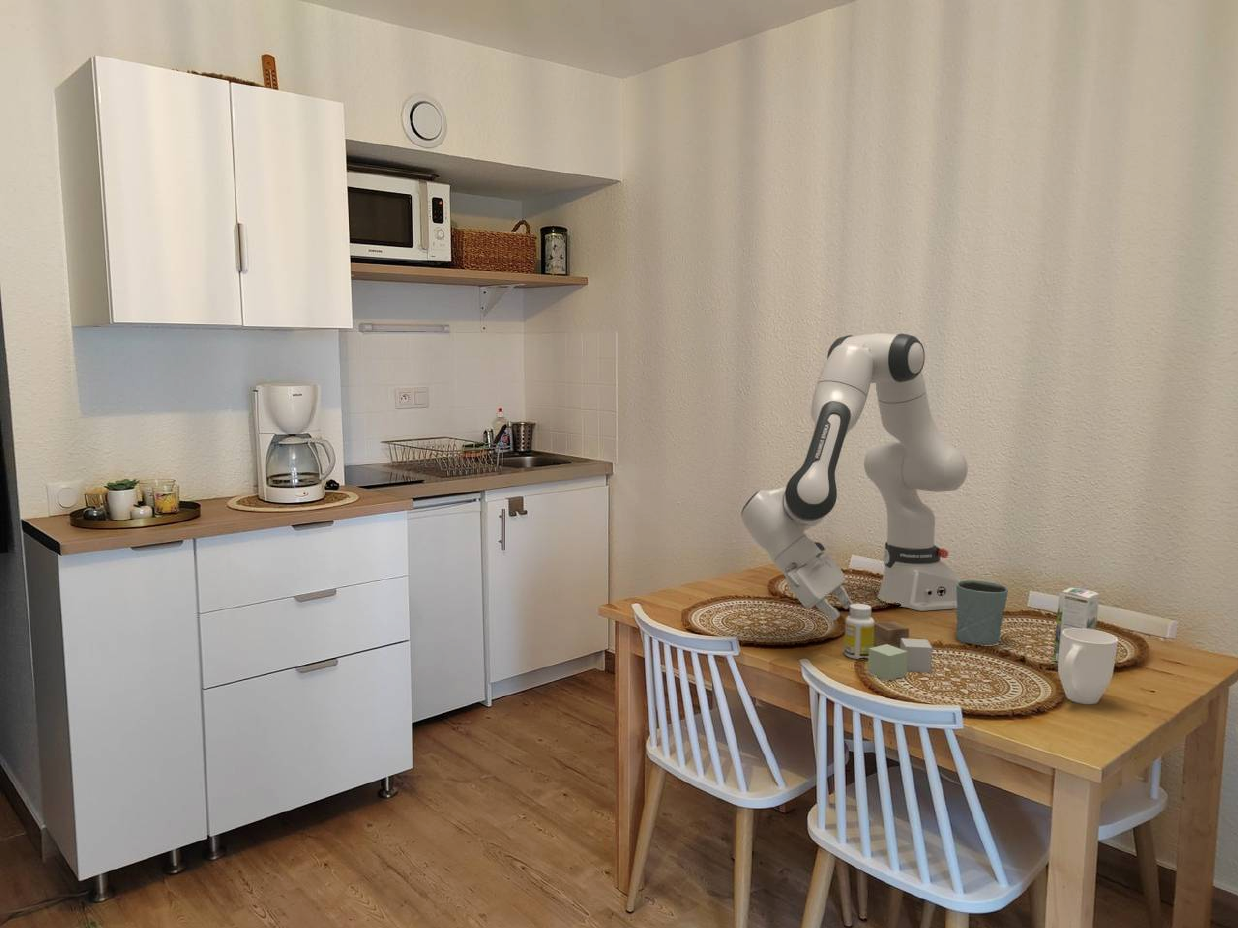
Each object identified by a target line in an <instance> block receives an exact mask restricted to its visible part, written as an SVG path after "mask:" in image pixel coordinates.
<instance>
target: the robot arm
mask: <svg viewBox="0 0 1238 928" xmlns="http://www.w3.org/2000/svg"><path fill="white" fill-rule="evenodd" d="M925 359H926V355H925V349H924V346H923V343H922V342H921V341H920V340H919V339H918V337H916V336H915V335H911V334H907V333H898V334H896V333H885V332H882V333H881V332H874V333H869V334H867V333H866V334H860V335H851V334H850V335H848V334H847V335H845V336H840V337H839V338H837V339H835V340H834V341H833V342H832V344H831V345H830V347H829V348H828V351H827V356H826V361H825V363H824V365H823V367H822V370H821V372H820V374H819V377H818V380H817V383H816V385H815V388H814V391H813V395H812V402H811V406H810V407H811V409H810V410H811V411H810V416H811V418H812V421H813V422H814V428H813V429H814V430H813V434H812V437H811V440H810V444H809V446H808V450H807V454H806V457H805V459H804V461H803V464H802V465H801V466H800V467H799V469H798V470H797V471H796V472H795V473H794V474H793V475H792V476H791V477H790V478H789V480H788V482H787V484H786V485H785V486H783V487H779V488H775V489H774V488H773V489H769V490H768V489H765V490H764V489H760V490H758V491H757V492H755V493H754V494H753V495H751V497H750V498H749V499H748V500H747V501H746V503H745V505H744V506H743V507H742V510H741V514H740V516H741V517H740V518H741V522H742V524H743V525H744V527H745V529H746V530H747V532H748V533H749V534H750V535H751V537H752V538H753V540H754V541H755V542H756V544H758V545H759V547H761V548H762V549H764V550H765V551H766V552H767V554H768V555H769V557H770V559H771V561H772V562H773V564H775V566H776V567H777V568H778V570H779V571H780V572H781V573H782V574H783V576H785V578H786V582H787V585H788V587H789V588H790V591H791V592H792V593H793V594H794V595H795V597H796V598H797V599H798V601H799V602H800V603H801V605H802V606H804V607H805V609H808V610H811V609H812V608H814V606H815V607H816V608H817V609H818V610H819V611H820V612H822V613H823V614H825V615H826V616H827V617H828V618H830V620H831V621H832V622H834V621H836V620H838V618H840V616H841V613H840V612H839V610H838V609H837V608H836V607H834V606H832V605H831V604H830V603H829V601H828V599H827V598H826V597H827V596H829V595H830V594H831V593H833V595H834V596H836V597H837V599H838V600H839V603H840V605H841V606H842V608H844V609H845V610H849V609H850V605H852V604H854V602H853V601H852V599H850V597H849V595H848V593H847V590H846V589H845V587H844V586H843V585H842V584H843V583H845V582H846V580H847V578H846V576H845V573H844V572H843V571H842V569H841V568H840V567H839V566H838V564H837V563H836V561H835V560H834V559H833V558H832V557H831V555H830V554H829V553H828V552H826V551H827V548H826V547H825V545H824V544H823V543H822V542H819V541H814V540H812V539H811V538H809V536H807V534H806V533H805V532H804V531H806V530H808V529H811V528H812V527H815V526H817V525H819V524H820V523H821V522H822V521H823V520H824V519H825V518H826V516H827V515H828V514H829V513H830V512H831V511H832V510H833V509H834V507H835V505H836V503H837V498H838V497H837V496H838V490H837V485H836V484H837V483H836V469H837V464H838V462H839V457H840V455H841V451H842V448H843V444H844V441H845V439H846V437H847V435H848V433H849V432H850V431H851V430H852V429H853V428H854V427H856V424H857V422H858V421H859V420H860V418H861V415H862V413H863V410H864V408H865V405H866V402H867V399H868V396H869V391H870V388H871V384H875V390H876V396H877V403H878V408H879V413H880V420H881V424H882V426H883V428H884V430H885V431H886V432H887V433H888V434H889V435H890V436H892V437H893V438H895V439H897V442H896V441H888V442H879V443H875V444H873V445H871V446H870V447H869V448H868V450H867V451H866V453H865V455H864V459H863V468H864V472H865V475H867V477H868V479H869V480H870V481H871V482H873V484H874V485H875V487H877V489H878V491H879V493H880V494H881V497H882V498H883V503H884V505H885V508H886V518H887V519H886V520H887V526H886V527H887V533H886V534H887V535H886V542H885V543H884V551H883V562H884V563H883V565H884V569H883V576H882V580H881V583H880V584H881V585H880V589H879V591H878V594H877V596H878V597H879V598H880V599H882V600H885V601H889V602H896V603H900V604H901V606H900V607H902V608H908V609H912V610H916V611H922V612H924V611H938V610H952V609H957V591H956V584H957V582H960V581H963V579H962V578H961V577H960V575H958V574H957V573H956V572H954V570H953V569H951V568H950V567H949V566H948V565H946V564H945V563H944V562H943V561H941V558H943V559H947V558H948V557H949V554H950V552H949V551H948V550H947V549H945V548H940V547H938V546H937V545H935V531H936V516H935V513H934V511H933V510H932V509H931V508H930V507H929V506H928V505H926V504H925V503H923V501H922V500H921V499H920V497H919V495H918V492H917V490H918V491H927V492H933V493H937V492H938V493H940V492H951V491H957V490H958V489H959V488H960V487H962V485H964V484H965V481H966V479H967V476H968V467H969V466H968V462H967V459H966V458H965V456H964V455H963V453H962V452H961V451H959V450H958V449H956V448H955V447H954V446H952V445H951V444H950V443H949V442H948V440H946V438H944V436H943V435H942V433H941V432H940V430H938V428H937V426H936V424H935V422H934V420H933V417H932V414H931V409H930V405H929V400H928V393H927V388H926V383H925V378H924V375H923V371H922V370H923V367H924V366H925ZM878 597H877V598H878Z"/></svg>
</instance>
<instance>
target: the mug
mask: <svg viewBox="0 0 1238 928" xmlns="http://www.w3.org/2000/svg"><path fill="white" fill-rule="evenodd" d="M1118 642H1119V639H1118V637H1117V636H1116V635H1113V634H1112V633H1108V632H1105V631H1102V630H1098V629H1096V630H1093V629H1086V628H1069V629H1065V630H1063V631H1062V637H1061V644H1060V652H1059V661H1058V662H1057V664H1058V665H1057V672H1058V677H1059V679H1060V683H1061V685H1062V688H1063V691H1064V693H1065V697H1066V699H1068V700H1070V701H1072V702H1074V703H1078V704H1083V705H1096V704H1097V703H1099V701H1100V699H1101V698H1102V696H1104V695H1103V694H1104V693H1105V691H1106V689H1108V687H1109V685H1110V683H1111V681H1112V679H1113V674H1114V670H1115V662H1116V657H1117V651H1118Z"/></svg>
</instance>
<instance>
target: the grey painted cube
mask: <svg viewBox="0 0 1238 928" xmlns="http://www.w3.org/2000/svg"><path fill="white" fill-rule="evenodd" d="M900 649H902V650H905V651H908V653H907V672H913V671H914V673H915V672H919V673H932V664H933V661H932V660H933V646H932V645H931V644H930V642H929V640H928V639H925V638H923V639H922V638H920V639H919V638H909V639H905V638H901V646H900Z"/></svg>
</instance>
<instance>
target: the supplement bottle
mask: <svg viewBox="0 0 1238 928" xmlns="http://www.w3.org/2000/svg"><path fill="white" fill-rule="evenodd" d="M849 614H850V615H848V616H846V618H845V631H844V633H845V634H844V655H845V656H847V657H848V658H851V659H854V660H855V659H856V660H860V659H859V658H862V657H866V658H869V648H873V647H874V623H875V620H874V618H873V617H871V615H872V607H871V606H870V605H869V604H863V603H853V604H852V605H850V607H849Z"/></svg>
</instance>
